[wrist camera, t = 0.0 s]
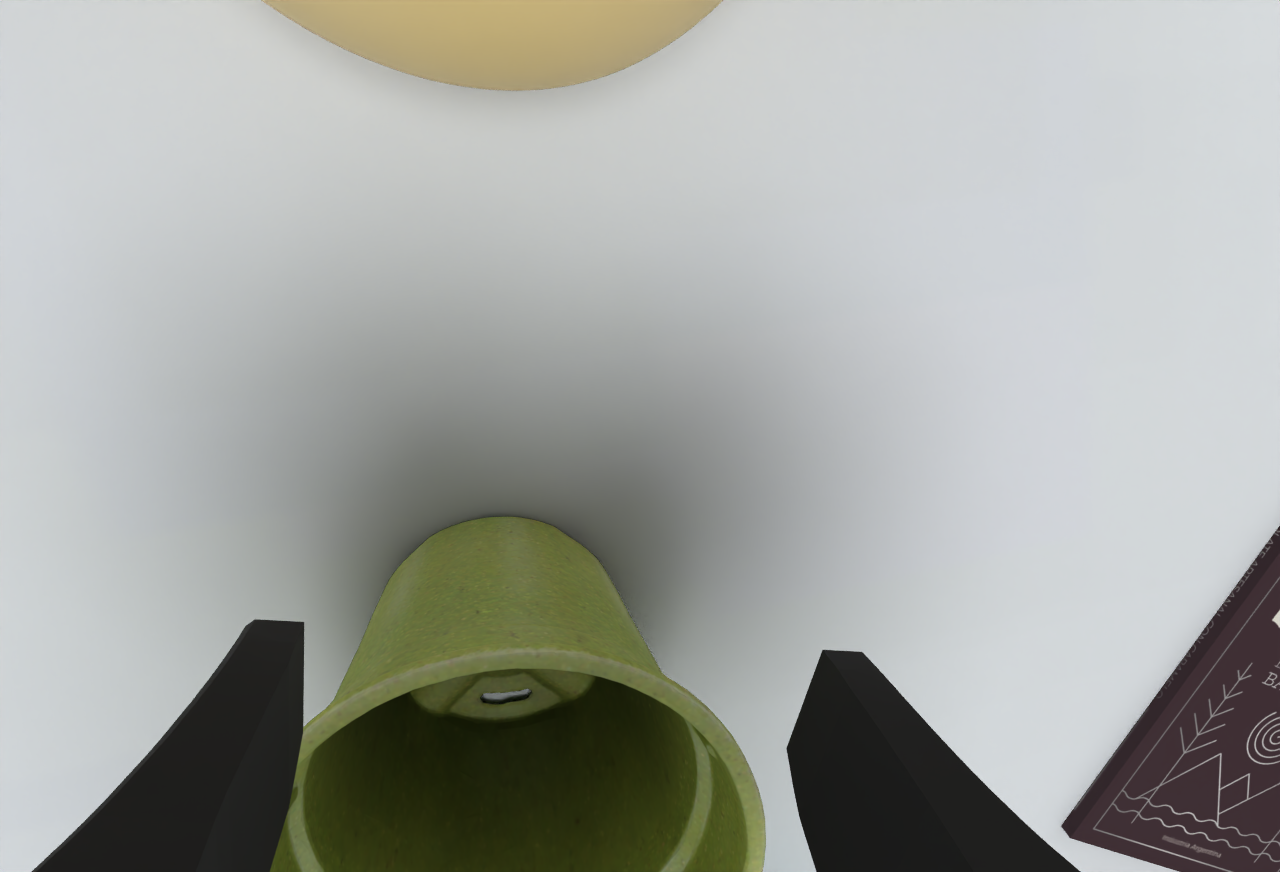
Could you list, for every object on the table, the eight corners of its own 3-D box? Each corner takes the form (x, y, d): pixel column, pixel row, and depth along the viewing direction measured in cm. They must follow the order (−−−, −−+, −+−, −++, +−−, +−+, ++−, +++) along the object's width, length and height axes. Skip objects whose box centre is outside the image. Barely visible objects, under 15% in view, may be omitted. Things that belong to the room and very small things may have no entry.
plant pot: (670, 429, 24) (765, 617, 16) (687, 736, 27) (770, 1018, 19) (281, 473, 23) (168, 700, 15) (350, 786, 26) (290, 1107, 18)
